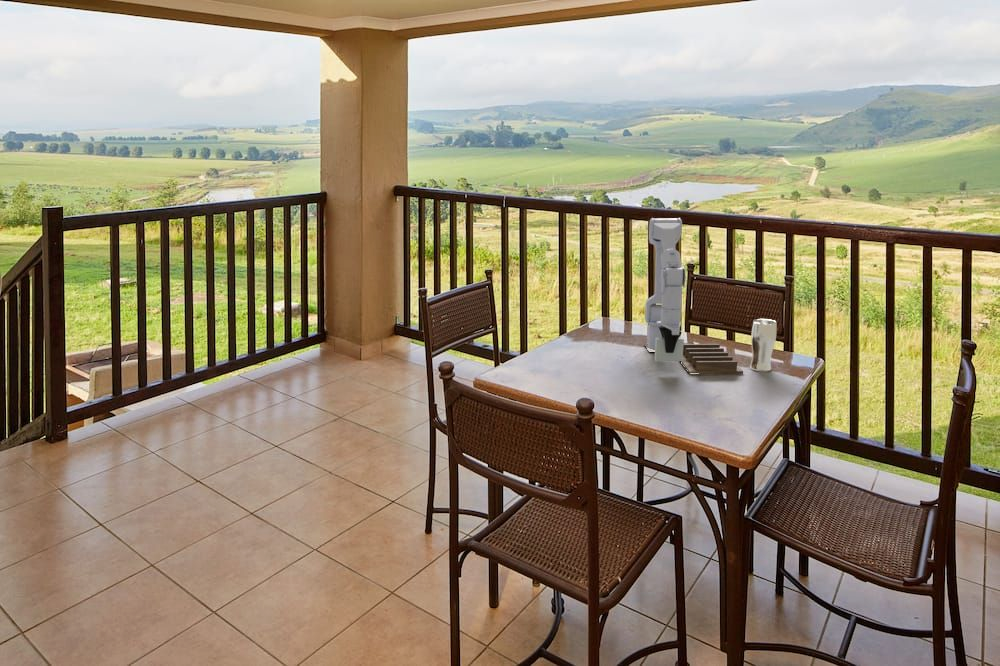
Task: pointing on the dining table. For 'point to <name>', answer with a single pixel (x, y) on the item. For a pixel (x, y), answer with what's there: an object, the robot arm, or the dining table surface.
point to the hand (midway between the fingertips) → (668, 351)
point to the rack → (708, 360)
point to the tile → (668, 357)
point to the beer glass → (762, 344)
